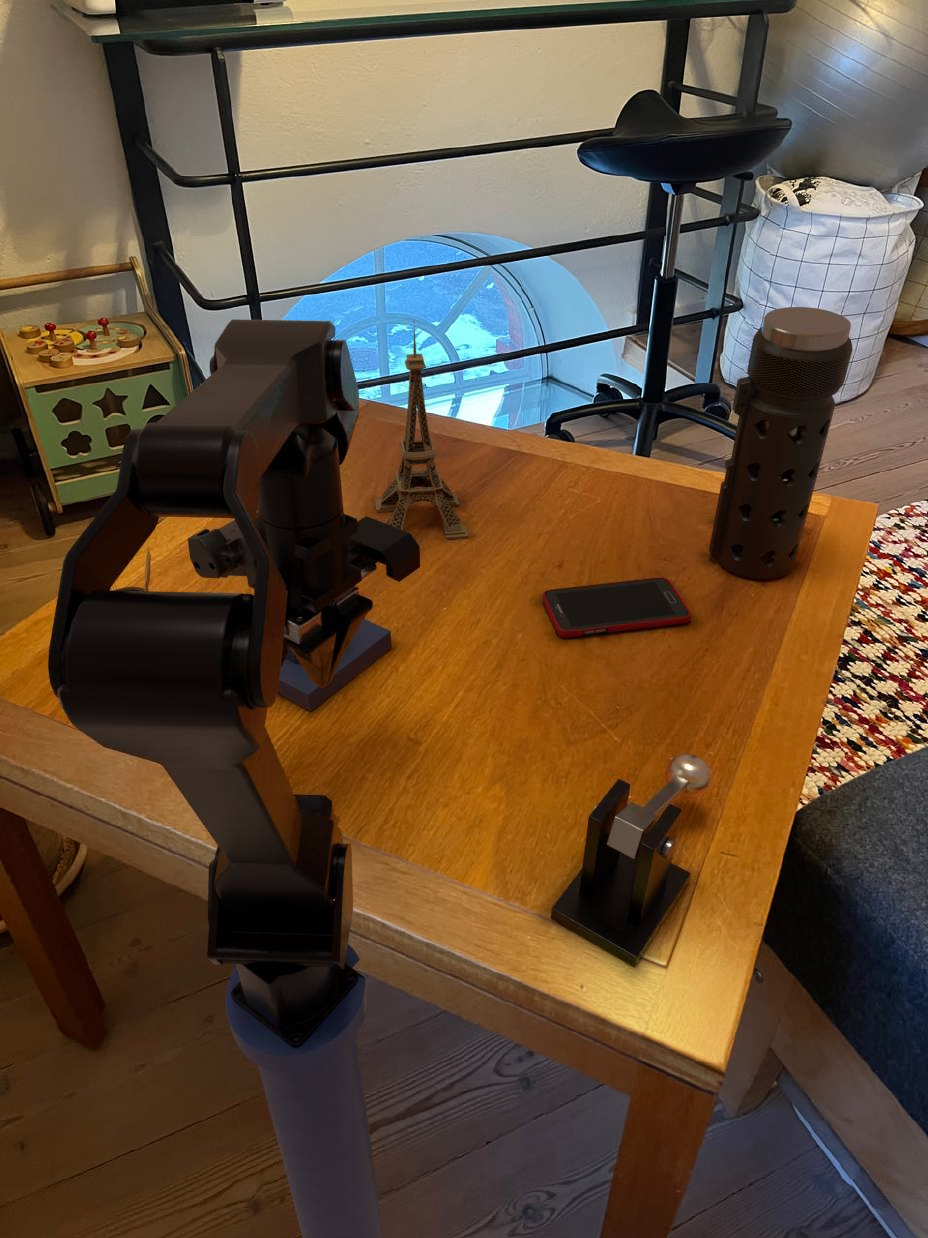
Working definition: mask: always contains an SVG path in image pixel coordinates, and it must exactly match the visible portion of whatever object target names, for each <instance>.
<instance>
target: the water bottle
mask: <svg viewBox="0 0 928 1238" xmlns="http://www.w3.org/2000/svg"><path fill="white" fill-rule="evenodd" d="M851 329H852V323H851V322H850V320H849V319H848V318H846V317H845V316H843V315H842V314H839V313H837V312H834V311H830V310H827V309H822V308H818V307H817V308H816V307H809V306H808V307H807V306H788V307H780V308H776V309H772V310H770V311H769V312H766V314H765V315H764V317H763V322H762V326H761V327H759V328H758V330H757V331H756V333H755V334H754V335H753V337H752V343H751V349H750V353H749V358H748V364H747V369H746V374H747V376H744V377H741V378H738V379H737V381H736V387H735V392H734V397H733V402H732V408H731V409H732V411H733V414H735V415H737V416H738V419H737V420H738V421H737V424H736V430H735V435H734V441H733V446H732V450H731V456H730V458H728V459H726V460H725V461H724V466H725V467H724V468H725V473H724V474H725V475H724V479H723V481H722V482H721V484H720V487H719V493H718V499H717V505H716V509H715V510H716V511H715V515H714V521H713V526H712V531H711V537H710V542H709V548H708V552H709V555H710V557H711V558H713V559H715V560H717V561H718V563H719V564H720V565H721V566H722V567H723V568H725V569H726V570H727V571H728V572H729V571H730V572H731V573H733V574H734V575H735V574H736V575H738V576H741V577H744V578H747V579H755V580H773V579H778V578H781V577H784V576H786V575H788V574H789V573H791V572H792V570H793V569H794V567H795V564H796V560H797V556H798V553H799V548H800V544H801V541H802V538H803V537H802V536H803V533H804V529H805V525H806V521H807V517H808V514H809V509H810V505H811V501H812V498H813V493H814V491H815V490H814V489H815V486H816V483H817V482H816V481H817V478H818V473H819V469H820V466H821V463H822V458H823V455H824V451H825V446H826V443H827V438H828V435H829V432H830V427H831V423H832V419H833V415H834V411H835V407H836V401H835V399H834V397H833V396H834V395H836V394H837V393H838V392H840V389H841V388H842V387H843V386H844V384H845V381H846V377H847V375H848V369H849V365H850V362H851V358H852V354H853V344H852V343H853V342H852V339H851V337H850V333H851ZM775 518H777V519H779V520H778V521H774V520H773V519H775ZM738 546H741V548H742V550H741V551H739V548H738ZM769 552H770V556H771V557H770V558H768V559H765V558H764V557H763V556H764V555H766V554H768V553H769Z"/></svg>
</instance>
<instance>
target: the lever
mask: <svg viewBox="0 0 928 1238" xmlns="http://www.w3.org/2000/svg"><path fill="white" fill-rule="evenodd" d="M712 775H713V774H712V770H711V767H710V766H709V764H708V762H707V761H706V760H705V759H704V758H703V757H701V756H699V755H697V754H694V753H690V752H689V753H688V752H687V753H681V754H678V755H676V756H675V757H673V758H672V759H671V760H670V761H669V762H668V764H667V766H666V769H665V782H666V784H665V786H663V788H661V789H660V790H659V791H658V792H657V793H656V794H655V795H653V796H652V797H651V798H650V800H648V801H647V802H646V803H645V804H644V805H643V806H640V805H639V804H637V803H635V802H632V801H630V802H628V804H627V806H626V807H625V808H624V809H623V810H621V811H620V812H619V813H618V814H617V815H616V816H615V817H614V821H613V824H612V828H611V831H610V834H609V838H608V841H607V845H608V846H610V847H612V848H614V849H616V850H618V851H620V852H621V853H623V854H625V855H627V856H629V857H631V858H633V859H635V858H636V857H637V856H638V855H639V851H640V845H641V842H642V841H643V840H644V838H645V837H646V835H647V834H648V833H649V831H650V830H651V828H652V827H653V826H654V824H655V823H656V821H657V820H658V819H659V817H660V816H661V814H662V813H663V812H664V810H665V809H666V807H667V806H668V805H669V804H672V805H674V803H676V801H677V800H678V799H680V798H681V799H685V800H693V799H697V798H700V797H702V796H704V794H706V793H707V792H708V790H709V788H710V786H711V785H712V779H713V778H712V777H713V776H712Z"/></svg>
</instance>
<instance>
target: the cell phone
mask: <svg viewBox="0 0 928 1238" xmlns="http://www.w3.org/2000/svg"><path fill="white" fill-rule="evenodd" d="M541 599H542V602H543V606H544V608H545V610H546V612H547V614H548V616H549V619H550V621H551V622H552V623H551V624H552V625H553V627H554V629H555V632H556V633H557V634H558V635H559V636H560V637H562V638H572V637H580V636H585V635H592V634H593V635H594V634H601V633H615V632H616V633H617V632H622V631H623V632H624V631H631V630H640V629H649V628H657V627H663V626H664V627H665V626H673V625H679V624H686V623H689V622H691V619H692V612H691V610H690V609H689V607H688V605H687V604H686V602H685V601H684V600H683V598H682V597H681V595H680V594H679V592H678V591H677V589H676V588H675V586H674V584H673V583H672V582H671V581H670V580H669V579H668V578H666V577H650V578H641V579H633V580H623V581H614V582H606V583H596V584H589V585H588V584H586V585H579V586H569V587H562V588H561V587H560V588H553V589H547V590H545V591H543V593H542V598H541Z"/></svg>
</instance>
